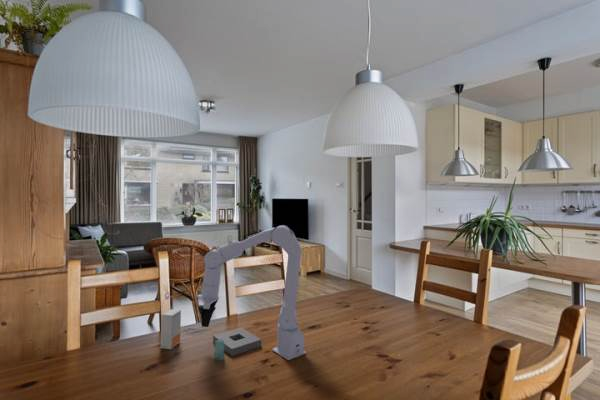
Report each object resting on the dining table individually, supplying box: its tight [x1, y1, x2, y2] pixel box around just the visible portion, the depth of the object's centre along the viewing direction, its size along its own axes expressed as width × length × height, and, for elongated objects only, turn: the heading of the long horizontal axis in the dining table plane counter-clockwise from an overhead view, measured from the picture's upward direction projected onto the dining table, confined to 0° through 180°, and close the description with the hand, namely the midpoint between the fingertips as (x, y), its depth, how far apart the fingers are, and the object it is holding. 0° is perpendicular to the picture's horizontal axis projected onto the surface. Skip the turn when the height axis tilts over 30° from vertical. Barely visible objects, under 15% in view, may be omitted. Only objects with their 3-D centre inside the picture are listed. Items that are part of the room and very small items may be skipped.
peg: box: [214, 339, 225, 362], centre depth 108 cm, size 3×3×6 cm
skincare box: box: [160, 309, 182, 350], centre depth 117 cm, size 6×4×12 cm
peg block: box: [212, 327, 262, 357], centre depth 119 cm, size 14×12×2 cm
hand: (206, 322), depth 115 cm, fingers open, 7 cm apart
